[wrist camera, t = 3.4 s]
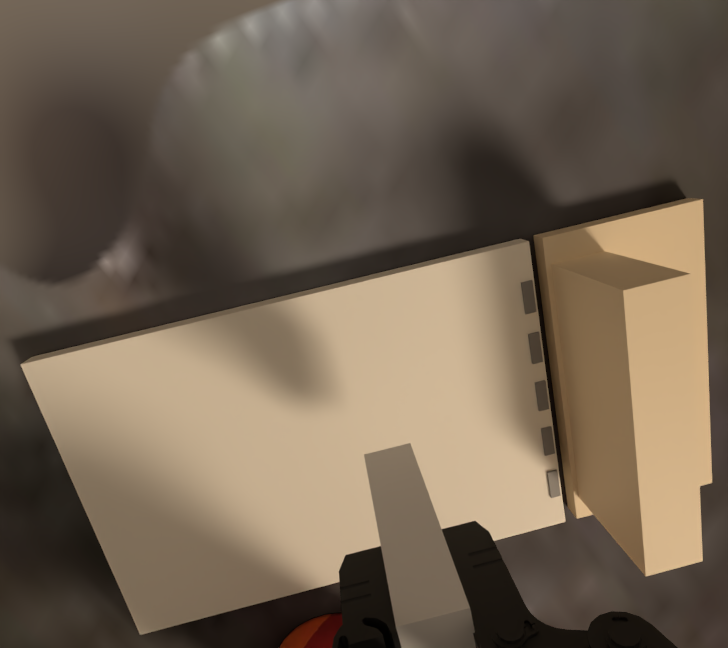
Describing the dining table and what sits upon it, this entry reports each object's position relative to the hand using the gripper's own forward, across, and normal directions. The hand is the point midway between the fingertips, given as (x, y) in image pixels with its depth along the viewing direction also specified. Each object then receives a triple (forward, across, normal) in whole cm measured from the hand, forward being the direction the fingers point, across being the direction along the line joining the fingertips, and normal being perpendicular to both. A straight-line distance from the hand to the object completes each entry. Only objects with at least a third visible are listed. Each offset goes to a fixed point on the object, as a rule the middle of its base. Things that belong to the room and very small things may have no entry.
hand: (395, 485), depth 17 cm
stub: (+4, +10, 0) cm, 11 cm away
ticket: (+4, -2, 0) cm, 5 cm away
